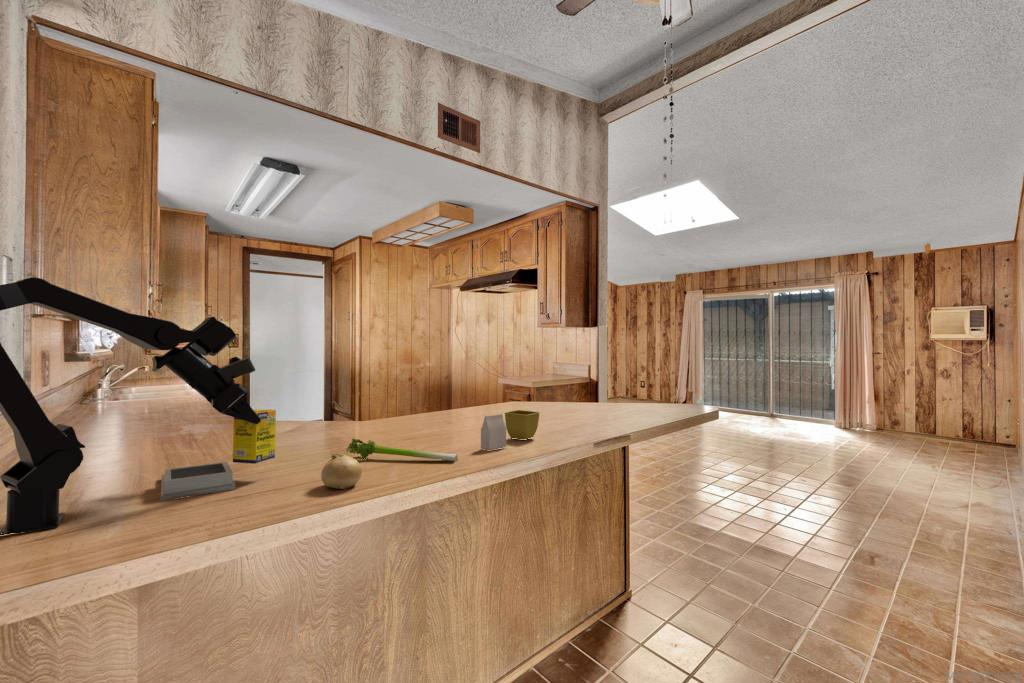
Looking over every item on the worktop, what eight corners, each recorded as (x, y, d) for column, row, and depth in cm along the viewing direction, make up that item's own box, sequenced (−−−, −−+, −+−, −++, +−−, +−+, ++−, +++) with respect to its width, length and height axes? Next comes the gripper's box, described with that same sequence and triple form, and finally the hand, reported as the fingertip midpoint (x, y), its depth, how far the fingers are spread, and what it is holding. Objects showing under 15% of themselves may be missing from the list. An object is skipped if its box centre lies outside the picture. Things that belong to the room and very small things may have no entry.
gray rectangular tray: (235, 489, 90) (235, 472, 90) (160, 501, 83) (161, 482, 83) (226, 470, 104) (226, 455, 104) (161, 479, 97) (162, 463, 97)
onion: (360, 479, 98) (361, 447, 98) (362, 490, 90) (362, 455, 90) (321, 483, 95) (322, 450, 95) (320, 494, 87) (320, 459, 87)
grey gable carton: (506, 448, 131) (506, 414, 131) (489, 451, 126) (489, 417, 126) (497, 446, 133) (497, 413, 133) (480, 449, 128) (481, 415, 129)
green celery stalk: (452, 473, 110) (340, 460, 114) (458, 470, 117) (351, 457, 120) (455, 449, 111) (343, 436, 115) (460, 447, 118) (355, 435, 121)
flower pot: (540, 438, 145) (540, 411, 146) (527, 443, 138) (527, 414, 138) (517, 436, 150) (517, 409, 150) (503, 440, 143) (503, 412, 143)
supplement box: (255, 464, 93) (256, 412, 93) (231, 462, 94) (232, 412, 94) (276, 457, 99) (276, 409, 99) (253, 456, 100) (254, 408, 100)
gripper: (235, 343, 87) (294, 396, 93) (225, 344, 101) (277, 390, 108) (184, 384, 82) (250, 437, 88) (181, 379, 96) (238, 425, 103)
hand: (256, 420), depth 97 cm, fingers closed on supplement box, 8 cm apart
